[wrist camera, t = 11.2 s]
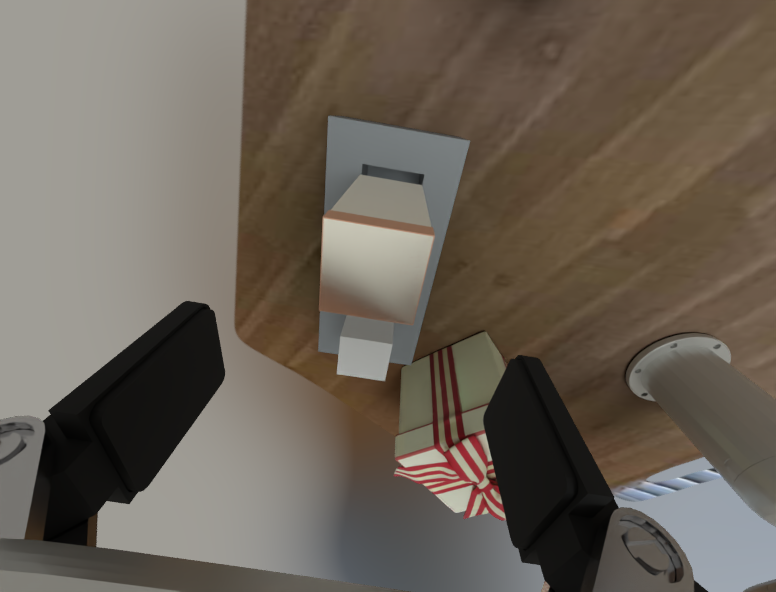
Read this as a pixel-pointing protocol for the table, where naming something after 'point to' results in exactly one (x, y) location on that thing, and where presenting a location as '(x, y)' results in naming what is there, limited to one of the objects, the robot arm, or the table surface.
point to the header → (440, 183)
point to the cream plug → (376, 251)
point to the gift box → (451, 425)
